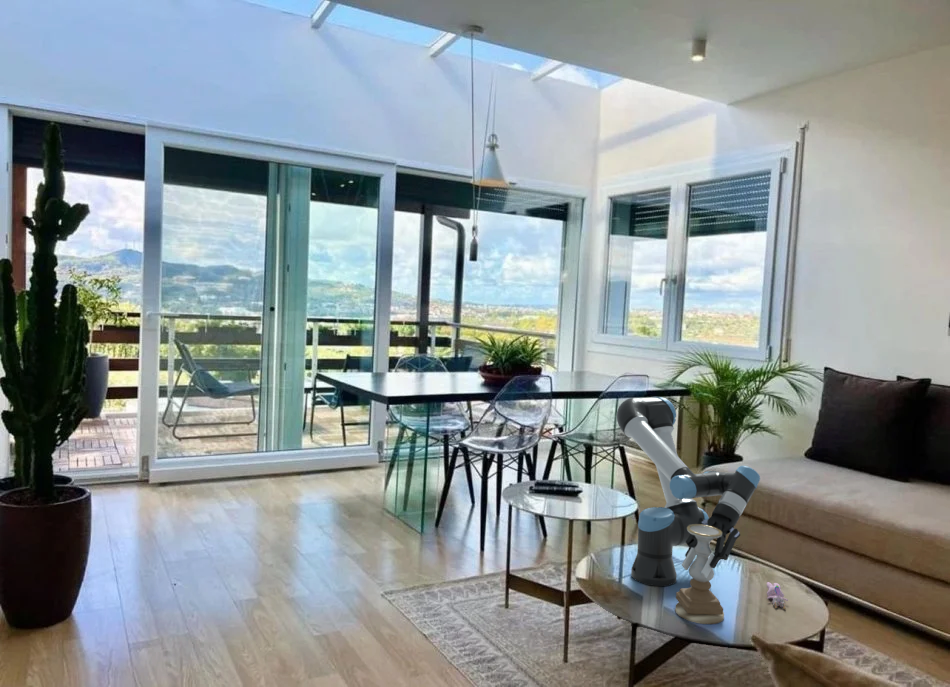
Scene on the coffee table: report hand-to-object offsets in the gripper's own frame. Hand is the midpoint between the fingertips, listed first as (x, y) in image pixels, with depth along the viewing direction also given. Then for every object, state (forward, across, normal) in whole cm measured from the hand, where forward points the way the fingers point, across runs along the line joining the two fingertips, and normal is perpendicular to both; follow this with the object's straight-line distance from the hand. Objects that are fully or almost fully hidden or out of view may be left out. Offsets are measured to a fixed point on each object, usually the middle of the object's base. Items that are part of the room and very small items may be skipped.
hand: (694, 571), depth 203 cm
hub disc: (+7, 0, -12) cm, 14 cm away
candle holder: (+6, 0, -11) cm, 12 cm away
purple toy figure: (-14, -7, -34) cm, 37 cm away
